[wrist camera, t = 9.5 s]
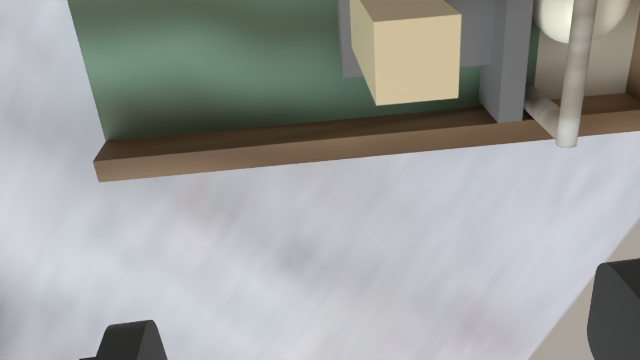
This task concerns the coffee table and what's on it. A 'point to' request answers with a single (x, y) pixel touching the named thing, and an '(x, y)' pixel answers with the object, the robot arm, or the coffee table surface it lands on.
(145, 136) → the channel
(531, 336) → the coffee table surface
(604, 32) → the ball
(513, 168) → the coffee table surface
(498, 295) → the coffee table surface
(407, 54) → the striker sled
